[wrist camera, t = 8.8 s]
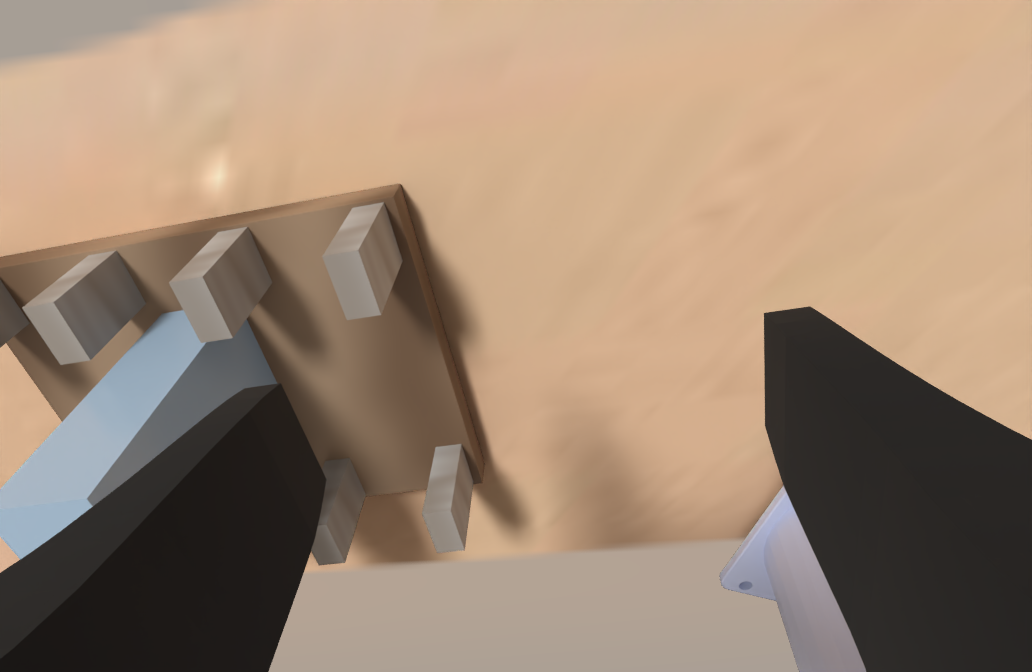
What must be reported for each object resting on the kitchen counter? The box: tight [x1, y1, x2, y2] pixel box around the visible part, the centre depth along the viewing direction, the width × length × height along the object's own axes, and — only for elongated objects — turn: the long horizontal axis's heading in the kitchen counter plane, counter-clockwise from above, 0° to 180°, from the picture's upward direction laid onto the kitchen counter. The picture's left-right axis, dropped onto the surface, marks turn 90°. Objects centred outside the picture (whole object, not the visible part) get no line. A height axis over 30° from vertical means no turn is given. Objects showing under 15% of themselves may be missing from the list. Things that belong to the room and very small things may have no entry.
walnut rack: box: [0, 184, 485, 565], centre depth 22 cm, size 14×11×4 cm
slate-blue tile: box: [0, 310, 277, 560], centre depth 19 cm, size 2×6×8 cm, turn 11°
